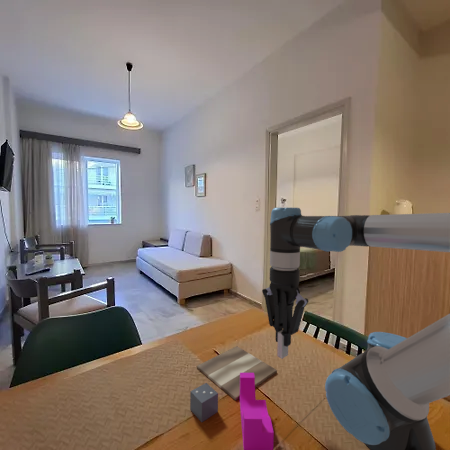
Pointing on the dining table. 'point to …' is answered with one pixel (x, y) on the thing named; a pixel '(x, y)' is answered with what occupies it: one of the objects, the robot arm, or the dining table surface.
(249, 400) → the toy block
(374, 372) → the robot arm
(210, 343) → the dining table surface
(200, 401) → the die
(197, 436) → the dining table surface
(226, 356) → the board
